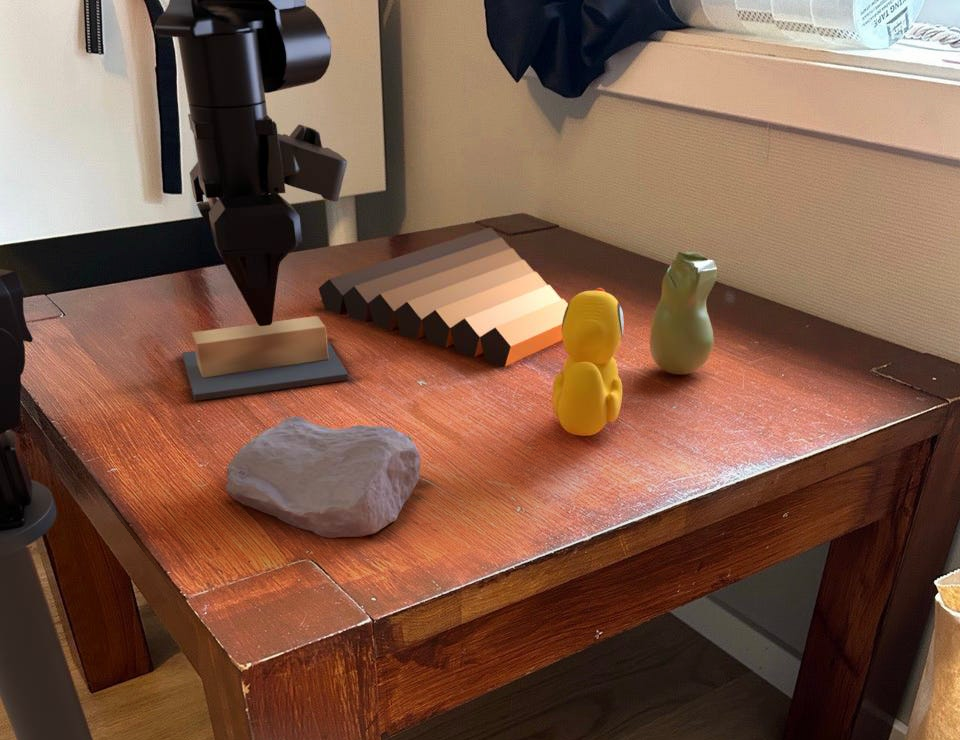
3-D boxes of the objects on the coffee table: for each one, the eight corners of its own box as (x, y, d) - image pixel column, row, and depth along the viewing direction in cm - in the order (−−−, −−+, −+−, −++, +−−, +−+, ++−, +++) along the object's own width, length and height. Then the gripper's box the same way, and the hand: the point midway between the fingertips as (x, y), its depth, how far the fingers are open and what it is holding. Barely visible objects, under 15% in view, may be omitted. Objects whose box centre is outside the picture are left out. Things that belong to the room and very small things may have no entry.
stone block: (378, 568, 63) (432, 473, 69) (363, 512, 59) (421, 416, 65) (219, 542, 66) (284, 454, 72) (197, 488, 63) (267, 399, 69)
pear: (665, 355, 88) (678, 241, 82) (719, 368, 85) (736, 251, 79) (635, 375, 84) (647, 257, 78) (692, 389, 82) (707, 268, 76)
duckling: (560, 392, 81) (566, 270, 75) (625, 396, 80) (635, 274, 74) (541, 452, 72) (545, 319, 66) (613, 458, 71) (624, 324, 65)
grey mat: (194, 401, 80) (193, 394, 80) (183, 358, 88) (182, 352, 87) (348, 380, 83) (348, 373, 83) (324, 340, 91) (324, 334, 91)
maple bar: (202, 378, 82) (196, 343, 81) (197, 365, 85) (191, 332, 83) (328, 359, 86) (325, 326, 84) (320, 348, 88) (317, 315, 86)
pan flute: (479, 254, 114) (320, 309, 99) (479, 224, 112) (317, 275, 97) (661, 298, 101) (510, 369, 86) (665, 265, 99) (511, 331, 84)
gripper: (360, 115, 68) (375, 332, 77) (308, 80, 83) (326, 267, 92) (199, 125, 65) (234, 349, 75) (174, 87, 80) (207, 279, 89)
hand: (256, 307), depth 82 cm, fingers open, 9 cm apart
